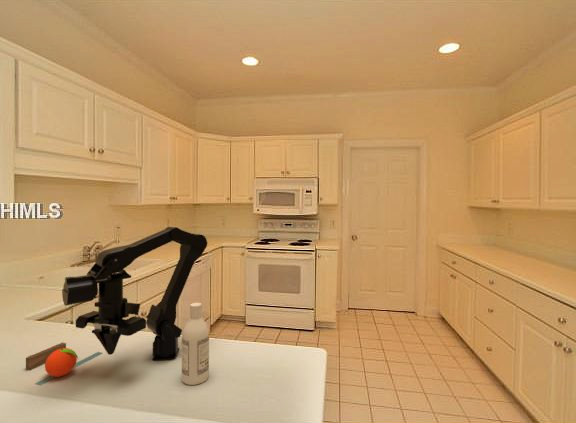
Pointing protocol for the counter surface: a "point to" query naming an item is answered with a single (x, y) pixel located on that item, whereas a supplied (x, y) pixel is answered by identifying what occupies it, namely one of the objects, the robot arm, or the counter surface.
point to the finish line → (74, 367)
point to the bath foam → (195, 348)
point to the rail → (41, 357)
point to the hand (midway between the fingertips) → (111, 353)
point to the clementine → (61, 362)
